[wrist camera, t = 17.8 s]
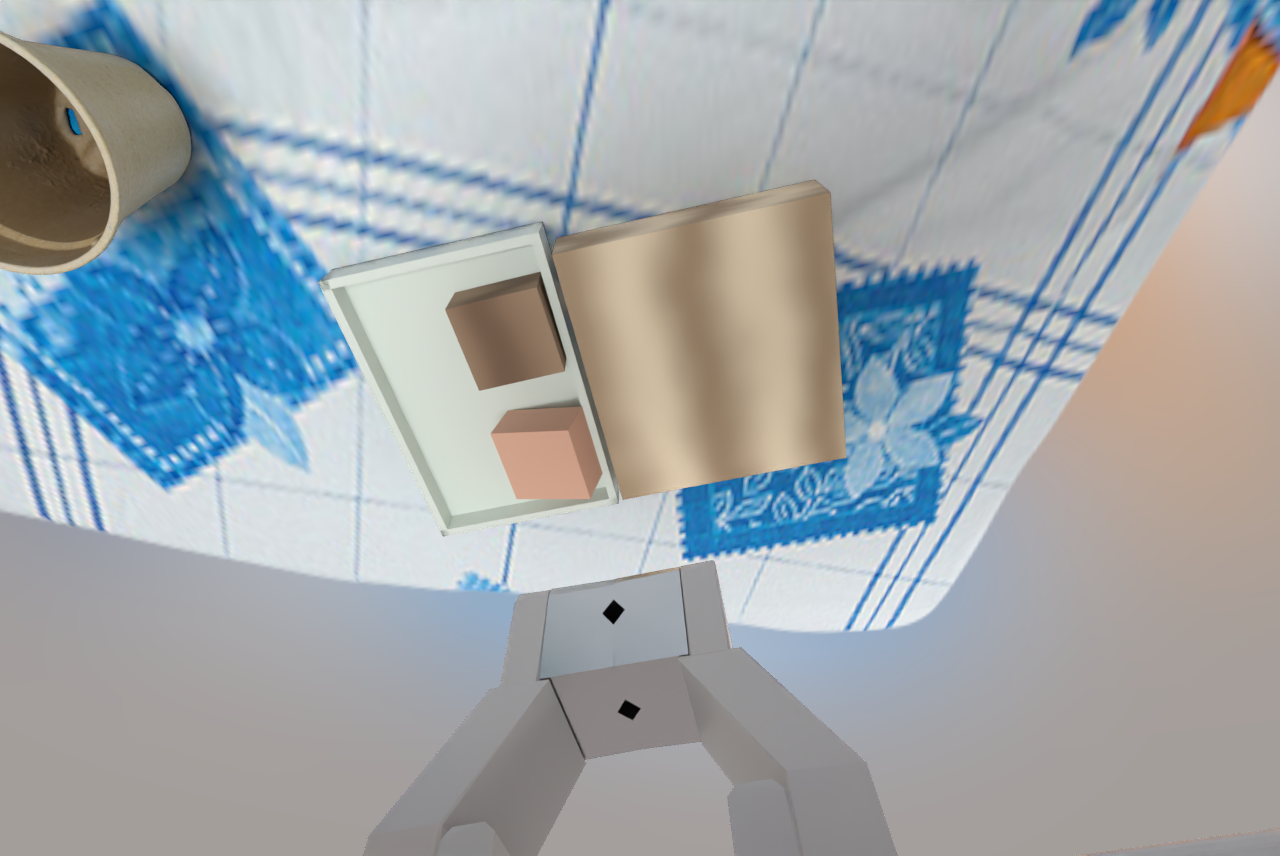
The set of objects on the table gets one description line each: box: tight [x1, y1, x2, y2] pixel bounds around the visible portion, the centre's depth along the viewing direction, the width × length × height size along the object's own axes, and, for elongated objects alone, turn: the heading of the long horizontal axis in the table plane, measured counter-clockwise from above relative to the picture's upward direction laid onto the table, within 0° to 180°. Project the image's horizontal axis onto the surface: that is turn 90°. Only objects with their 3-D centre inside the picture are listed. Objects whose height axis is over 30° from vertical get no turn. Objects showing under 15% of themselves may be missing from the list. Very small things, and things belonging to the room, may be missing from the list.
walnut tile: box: [445, 272, 567, 391], centre depth 37 cm, size 5×5×2 cm
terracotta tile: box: [490, 407, 603, 499], centre depth 41 cm, size 5×5×2 cm
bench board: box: [552, 180, 846, 500], centre depth 38 cm, size 14×16×3 cm
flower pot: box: [0, 31, 191, 275], centre depth 29 cm, size 9×9×9 cm
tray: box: [318, 222, 619, 536], centre depth 40 cm, size 12×18×2 cm, turn 12°
